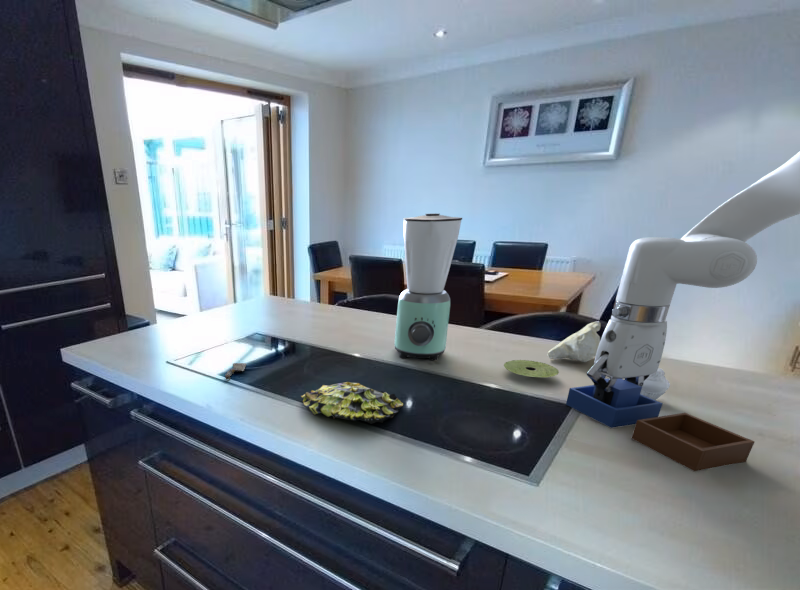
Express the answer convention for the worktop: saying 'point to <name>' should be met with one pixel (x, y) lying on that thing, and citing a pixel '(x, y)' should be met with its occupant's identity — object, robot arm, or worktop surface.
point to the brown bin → (692, 441)
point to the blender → (426, 285)
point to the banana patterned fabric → (352, 402)
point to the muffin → (655, 385)
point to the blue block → (624, 394)
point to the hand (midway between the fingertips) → (612, 405)
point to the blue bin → (611, 408)
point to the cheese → (578, 344)
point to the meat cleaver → (235, 369)
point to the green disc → (531, 368)
